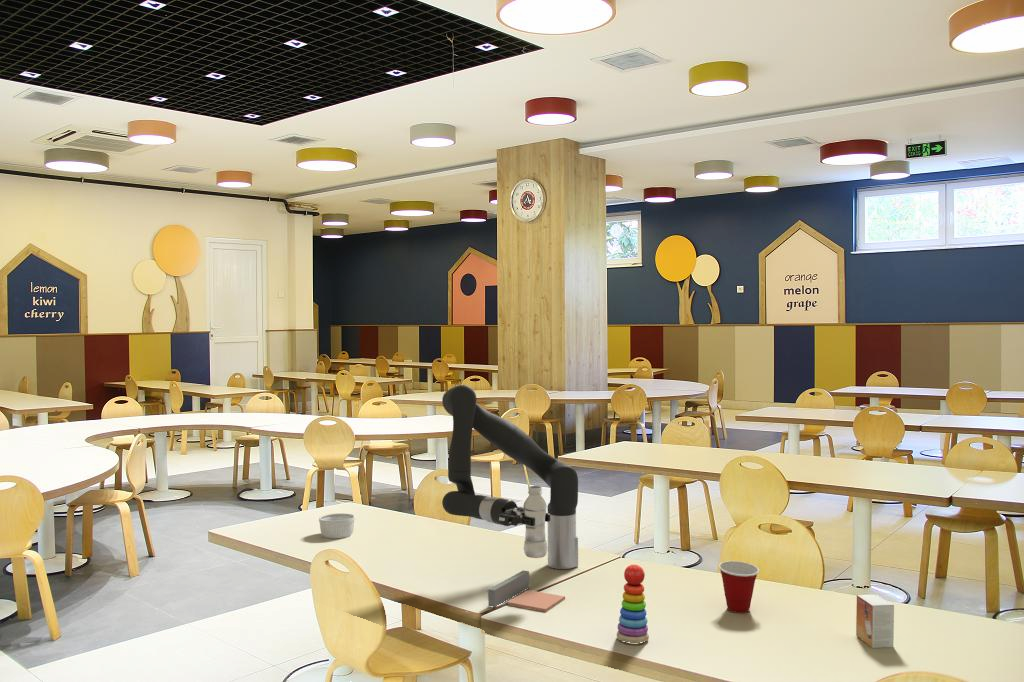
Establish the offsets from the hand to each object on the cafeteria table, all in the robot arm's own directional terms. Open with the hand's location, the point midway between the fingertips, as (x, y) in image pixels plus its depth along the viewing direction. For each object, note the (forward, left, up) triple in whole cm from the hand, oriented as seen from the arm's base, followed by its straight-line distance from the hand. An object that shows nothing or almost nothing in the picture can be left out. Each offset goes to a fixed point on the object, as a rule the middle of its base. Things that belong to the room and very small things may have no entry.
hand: (541, 520), depth 236 cm
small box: (-72, +47, -24) cm, 89 cm away
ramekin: (+54, -93, -24) cm, 110 cm away
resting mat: (+1, -2, -24) cm, 24 cm away
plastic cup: (-51, +18, -24) cm, 59 cm away
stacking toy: (-15, +31, -24) cm, 42 cm away
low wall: (+8, -8, -24) cm, 26 cm away
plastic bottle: (+1, -2, -11) cm, 11 cm away
